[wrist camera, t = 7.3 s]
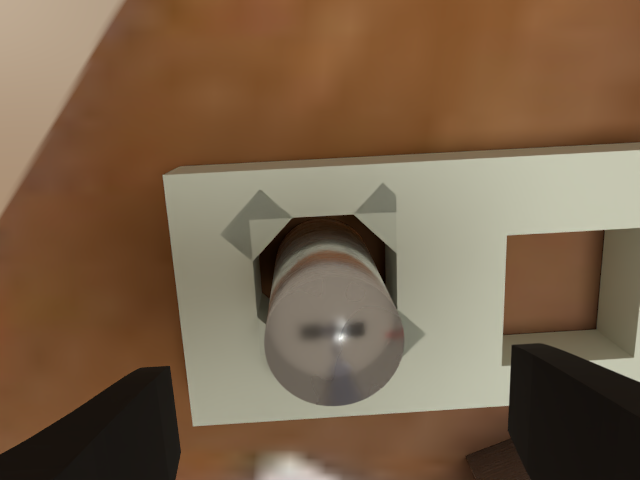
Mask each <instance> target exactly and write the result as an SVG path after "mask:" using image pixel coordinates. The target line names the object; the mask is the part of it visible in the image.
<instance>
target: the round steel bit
mask: <svg viewBox="0 0 640 480" xmlns="http://www.w3.org/2000/svg"><path fill="white" fill-rule="evenodd" d="M404 342H405V340H404V329H403V324H402V321H401V318H400V316H399V314H398V312H397V309H396V307H395V305H394V303H393V301H392V299H391V297H390V295H389V293H388V291H387V289H386V286H385V284H384V282H383V280H382V278H381V276H380V274H379V272H378V270H377V268H376V265H375V263H374V261H373V259H372V257H371V255H370V253H369V251H368V249H367V247H366V245H365V243H364V241H363V239H362V238H361V236H360V235H359V234H358V233H357V232H356V231H355V230H354V229H353V228H352V227H350V226H349V225H347V224H345V223H343V222H341V221H338V220H334V219H328V218H319V219H313V220H309V221H306V222H303V223H301V224H299V225H298V226H296V227H295V228H293V229H292V230H291V231H290V232H289V233H288V234H287V235H286V236H285V237H284V239H283V240H282V242H281V244H280V246H279V248H278V252H277V256H276V262H275V268H274V275H273V282H272V289H271V295H270V302H269V309H268V316H267V322H266V329H265V336H264V349H265V356H266V360H267V363H268V365H269V368H270V370H271V372H272V373H273V375H274V377H275V378H276V379H277V381H278V382H279V383H280V384H281V385H282V386H283V387H284V388H285V389H286V390H287V391H289V392H290V393H291V394H293V395H294V396H296V397H298V398H299V399H302V400H304V401H306V402H309V403H313V404H316V405H322V406H344V405H349V404H353V403H356V402H359V401H362V400H364V399H366V398H368V397H370V396H371V395H373V394H375V393H376V392H378V391H379V390H380V389H381V388H382V387H384V386H385V385H386V383H387V382H388V381H389V380H390V379H391V378H392V376H393V375H394V373H395V372H396V370H397V368H398V366H399V364H400V361H401V359H402V355H403V351H404Z"/></svg>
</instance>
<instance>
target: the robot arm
mask: <svg viewBox="0 0 640 480" xmlns="http://www.w3.org/2000/svg"><path fill="white" fill-rule="evenodd" d="M508 432H509V434H510V436H511V439H512V441H513V443H514V446H515V448H516V450H517V453H518V455H519V457H520V459H521V461H522V463H523V466H524V468H525V470H526V472H527V474H528V475H529V477H530V479H531V480H640V382H639V381H636V380H634V379H631V378H629V377H626V376H624V375H621V374H619V373H617V372H614V371H612V370H609V369H607V368H605V367H602V366H600V365H597V364H595V363H593V362H590V361H588V360H586V359H583V358H581V357H578V356H576V355H574V354H571V353H569V352H566V351H563V350H561V349H558V348H555V347H552V346H549V345H546V344H542V343H532V344H516V345H512V347H511V370H510V393H509V416H508ZM180 454H181V449H180V441H179V434H178V426H177V418H176V410H175V402H174V394H173V387H172V379H171V371H170V366H161V367H145V368H139V369H137V370H135V371H133V372H132V373H130V374H128V375H127V376H125V377H123V378H122V379H120V380H119V381H117V382H116V383H114V384H113V385H111V386H110V387H108V388H107V389H105V390H104V391H103V392H101V393H100V394H98V395H97V396H95V397H94V398H92V399H91V400H89V401H88V402H86V403H85V404H83V405H82V406H80V407H79V408H77V409H76V410H74V411H73V412H71V413H70V414H68V415H66V416H65V417H63V418H61V419H60V420H58V421H57V422H55V423H53V424H52V425H50V426H49V427H47V428H45V429H44V430H42V431H40V432H39V433H37V434H36V435H34V436H32V437H31V438H29V439H27V440H26V441H24V442H22V443H20V444H19V445H17V446H15V447H13V448H11V449H9V450H8V451H6V452H4V453H2V454H0V480H175V479H176V474H177V469H178V464H179V459H180Z"/></svg>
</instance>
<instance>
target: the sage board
mask: <svg viewBox="0 0 640 480" xmlns="http://www.w3.org/2000/svg"><path fill="white" fill-rule="evenodd" d="M163 182H164V191H165V199H166V207H167V215H168V224H169V232H170V240H171V249H172V257H173V265H174V273H175V282H176V290H177V298H178V306H179V315H180V323H181V331H182V339H183V348H184V356H185V364H186V373H187V381H188V389H189V397H190V406H191V414H192V422H193V426H205V425H220V424H236V423H251V422H266V421H282V420H297V419H312V418H327V417H343V416H358V415H373V414H389V413H404V412H419V411H435V410H450V409H465V408H481V407H496V406H509V393H510V370H511V347H512V345H516V344H532V343H542V344H546V345H549V346H552V347H555V348H558V349H561V350H563V351H566V352H569V353H571V354H574V355H576V356H578V357H581V358H583V359H586V360H588V361H590V362H593V363H595V364H597V365H600V366H602V367H605V368H607V369H609V370H612V371H614V372H617V373H619V374H621V375H624V376H626V377H629V378H631V379H634V380H636V381H639V382H640V142H636V143H617V144H598V145H579V146H560V147H540V148H521V149H502V150H483V151H464V152H445V153H425V154H406V155H387V156H368V157H349V158H329V159H310V160H291V161H272V162H253V163H234V164H214V165H195V166H179V167H177V168H175V169H174V170H172V171H170V172H168V173H166V174H164V175H163ZM351 214H353V215H354V216H356V217H357V218H358V219H359V220H360V221H361V222H362V223H363V224H364V225H366V226H367V227H368V228H369V229H370V230H371V231H372V232H373V233H374V234H376V235H377V236H378V237H379V238H380V239H381V240H382V241H383V242H384V243H385V271H386V285H385V286H386V289H387V291H388V293H389V295H390V297H391V299H392V301H393V303H394V305H395V307H396V309H397V312H398V314H399V316H400V318H401V321H402V324H403V329H404V340H405V342H404V351H403V355H402V359H401V361H400V364H399V366H398V368H397V370H396V372H395V373H394V375H393V376H392V378H391V379H390V380H389V381H388V382H387V383H386V385H385V386H384V387H382V388H381V389H380V390H379V391H378V392H376V393H375V394H373V395H371V396H370V397H368V398H366V399H364V400H362V401H359V402H356V403H353V404H349V405H344V406H322V405H316V404H313V403H309V402H306V401H304V400H302V399H299V398H298V397H296V396H294V395H293V394H291V393H290V392H289V391H287V390H286V389H285V388H284V387H283V386H282V385H281V384H280V383H279V382H278V381H277V379H276V378H275V377H274V375H273V373H272V372H271V370H270V368H269V365H268V363H267V360H266V356H265V349H264V336H265V329H266V322H267V316H268V309H269V302H270V299H269V298H268V297H267V296H266V295H265V294H263V293H262V286H261V274H260V261H259V254H260V253H261V252H262V251H263V250H264V249H265V247H266V246H267V245H268V244H269V243H270V242H271V241H272V240H273V239H274V238H275V236H276V235H277V234H278V233H279V232H280V231H281V230H282V229H283V228H284V227H285V225H286V224H287V223H288V222H289V221H290V220H291V219H292V218H296V217H315V216H333V215H351ZM592 230H605V234H604V246H603V258H602V269H601V281H600V292H599V304H598V315H597V327H596V329H594V330H578V331H562V332H545V333H529V334H513V335H503V318H504V293H505V268H506V243H507V235H522V234H539V233H557V232H575V231H592Z"/></svg>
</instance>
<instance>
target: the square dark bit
mask: <svg viewBox="0 0 640 480" xmlns="http://www.w3.org/2000/svg"><path fill="white" fill-rule="evenodd" d="M466 459H467V461H468V464H469V466H470V469H471V471H472V474H473V476H474V478H475V480H531V479H530V477H529V475H528V474H527V472H526V470H525V468H524V466H523V463H522V461H521V459H520V457H519V455H518V453H517V450H516V448H515V446H514V443H513V441H512V439H509V440H506V441H503V442H501V443H498V444H495V445H493V446H490V447H488V448H485V449H482V450H480V451H477V452H475V453H472V454H469V455H467V456H466Z"/></svg>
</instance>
